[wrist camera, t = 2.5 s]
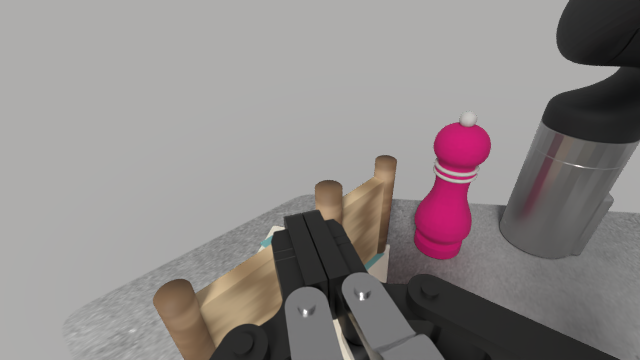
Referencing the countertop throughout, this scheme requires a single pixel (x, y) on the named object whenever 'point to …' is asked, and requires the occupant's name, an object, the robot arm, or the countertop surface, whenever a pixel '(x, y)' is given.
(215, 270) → the countertop surface
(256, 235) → the countertop surface
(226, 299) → the swing panel
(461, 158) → the pepper mill
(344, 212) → the fixed panel
